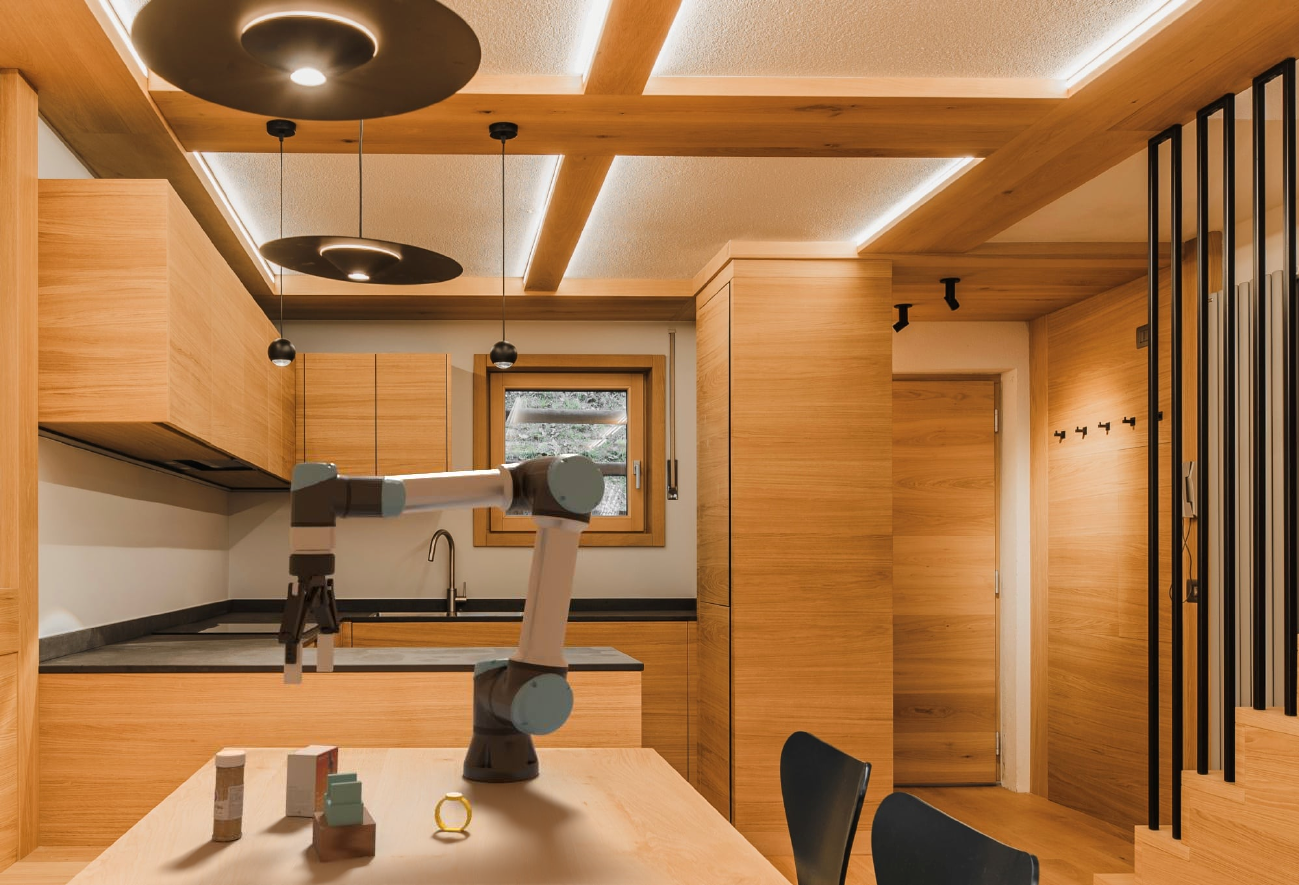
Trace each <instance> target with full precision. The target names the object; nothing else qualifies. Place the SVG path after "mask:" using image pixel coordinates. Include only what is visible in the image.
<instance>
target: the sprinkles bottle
mask: <svg viewBox="0 0 1299 885" xmlns="http://www.w3.org/2000/svg"><path fill="white" fill-rule="evenodd" d="M246 759H247V752H246V751H244V750H241V749H229V750H228V749H227V750H222V751H219V752H217V753H216V754H215V756H214V765H215V769H216V771H215V788H214V802H213V827H212V835H211V839H212V840H214V841H215V842H230V841H235V840H238V839H240V838H241V837H242V836H243V832H242V826H243V824H242V823H243V814H244V792H245V780H244V779H245V766H246V763H247V762H246V761H247V760H246Z"/></svg>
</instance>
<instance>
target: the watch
mask: <svg viewBox="0 0 1299 885" xmlns="http://www.w3.org/2000/svg"><path fill="white" fill-rule="evenodd" d="M463 796H464V795H463V794H462V793H461V792H457V791H456V792H447V793H446V794H445V797H443V798H441V800H440V801H438V803H437V805H436V806H435V809H434V820H435V823H436V825H437V827H438V828H439V829H440V830H441V831H442V832H454V833H461V832H462V831H464V830H465V829H466V828H467V827H468V826H469V825H470V823H471V821H472V817H473V812H472V811H473V810H472V806H471V804H470V802H469V801H468V799H466V798H465V797H463ZM445 801H450V802H451V801H452V802H455V801H456V802H457V801H458V802H460V803H462V804H463V806H464V809H465V810H466V821H465V824H464V825H463V826H462V827H447V826H446V825H445V823H443V821H442V818H441V814H440V813H441V812H440V811H441V807H442V805H443V803H444V802H445Z"/></svg>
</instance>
